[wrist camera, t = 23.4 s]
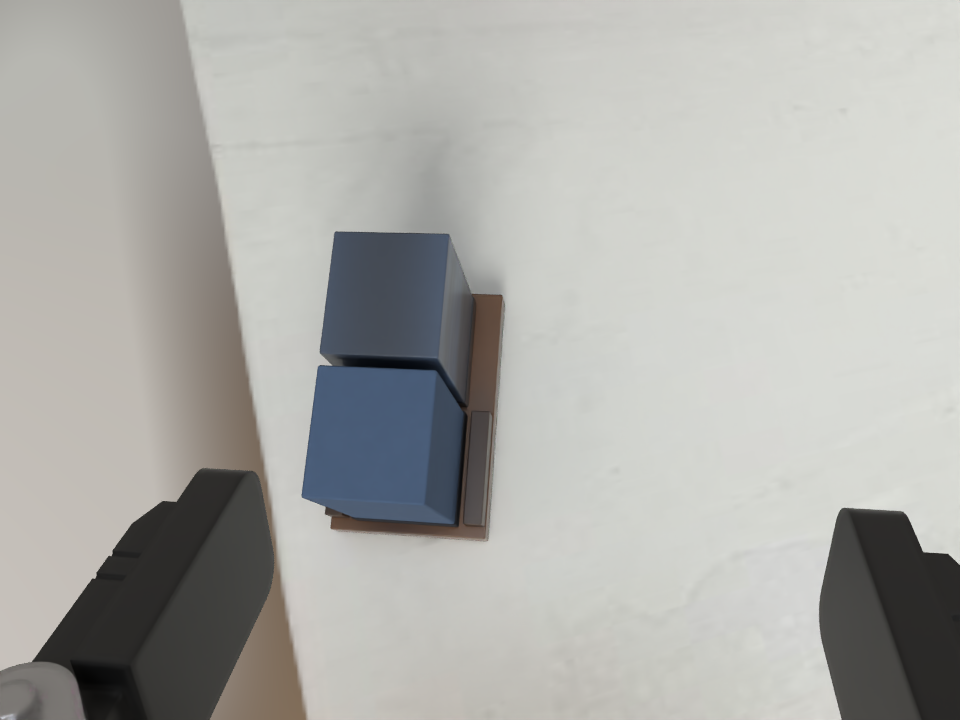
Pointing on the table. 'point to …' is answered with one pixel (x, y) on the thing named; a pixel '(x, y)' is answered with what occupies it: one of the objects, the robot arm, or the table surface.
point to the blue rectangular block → (386, 446)
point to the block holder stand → (420, 347)
